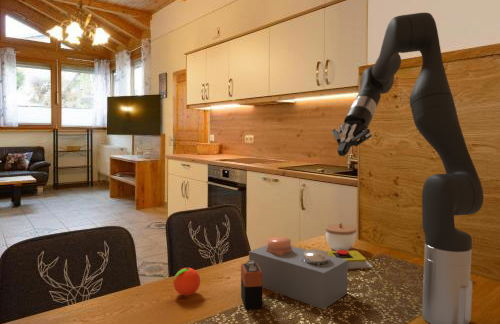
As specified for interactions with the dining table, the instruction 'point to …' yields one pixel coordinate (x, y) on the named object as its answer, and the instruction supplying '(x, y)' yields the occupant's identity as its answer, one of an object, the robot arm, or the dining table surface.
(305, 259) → the silver jar
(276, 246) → the orange canister
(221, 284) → the dining table surface
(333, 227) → the lidded jar
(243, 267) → the battery
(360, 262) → the emergency button
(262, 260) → the console
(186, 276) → the clementine
